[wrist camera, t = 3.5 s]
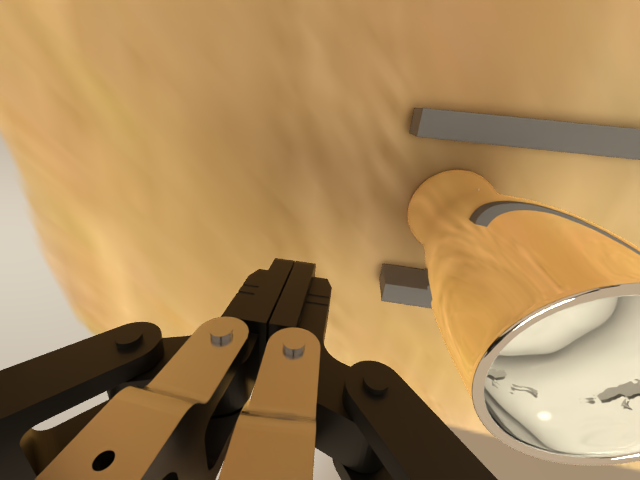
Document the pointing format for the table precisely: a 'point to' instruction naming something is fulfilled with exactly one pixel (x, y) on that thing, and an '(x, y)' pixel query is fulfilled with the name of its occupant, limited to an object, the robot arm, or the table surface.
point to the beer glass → (535, 318)
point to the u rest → (502, 131)
